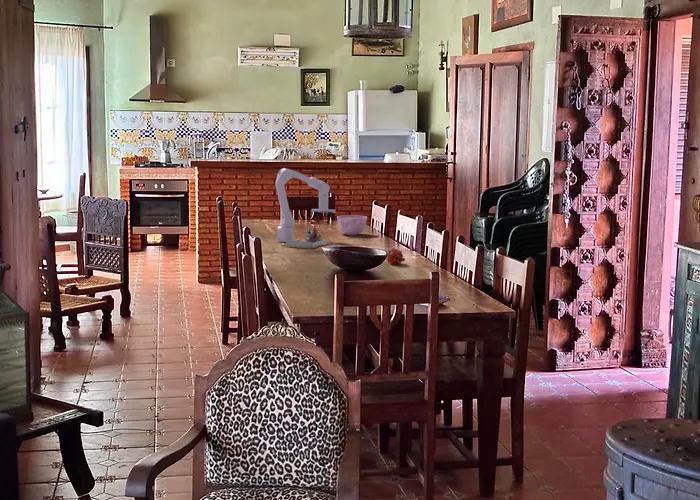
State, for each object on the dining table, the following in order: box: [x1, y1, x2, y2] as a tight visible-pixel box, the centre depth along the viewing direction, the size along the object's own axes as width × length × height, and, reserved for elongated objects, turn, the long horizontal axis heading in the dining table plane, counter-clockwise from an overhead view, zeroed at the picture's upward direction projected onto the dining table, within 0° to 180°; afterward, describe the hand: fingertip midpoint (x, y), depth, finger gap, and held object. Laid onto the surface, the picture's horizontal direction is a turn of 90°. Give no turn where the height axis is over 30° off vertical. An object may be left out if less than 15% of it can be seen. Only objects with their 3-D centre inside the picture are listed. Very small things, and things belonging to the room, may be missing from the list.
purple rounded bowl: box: [336, 214, 368, 236], centre depth 553 cm, size 20×20×12 cm
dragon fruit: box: [387, 248, 406, 266], centre depth 438 cm, size 8×8×12 cm
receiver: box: [285, 238, 328, 249], centre depth 499 cm, size 19×19×4 cm
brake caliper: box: [304, 224, 323, 243], centre depth 511 cm, size 11×11×12 cm
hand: (323, 224), depth 522 cm, fingers open, 5 cm apart
